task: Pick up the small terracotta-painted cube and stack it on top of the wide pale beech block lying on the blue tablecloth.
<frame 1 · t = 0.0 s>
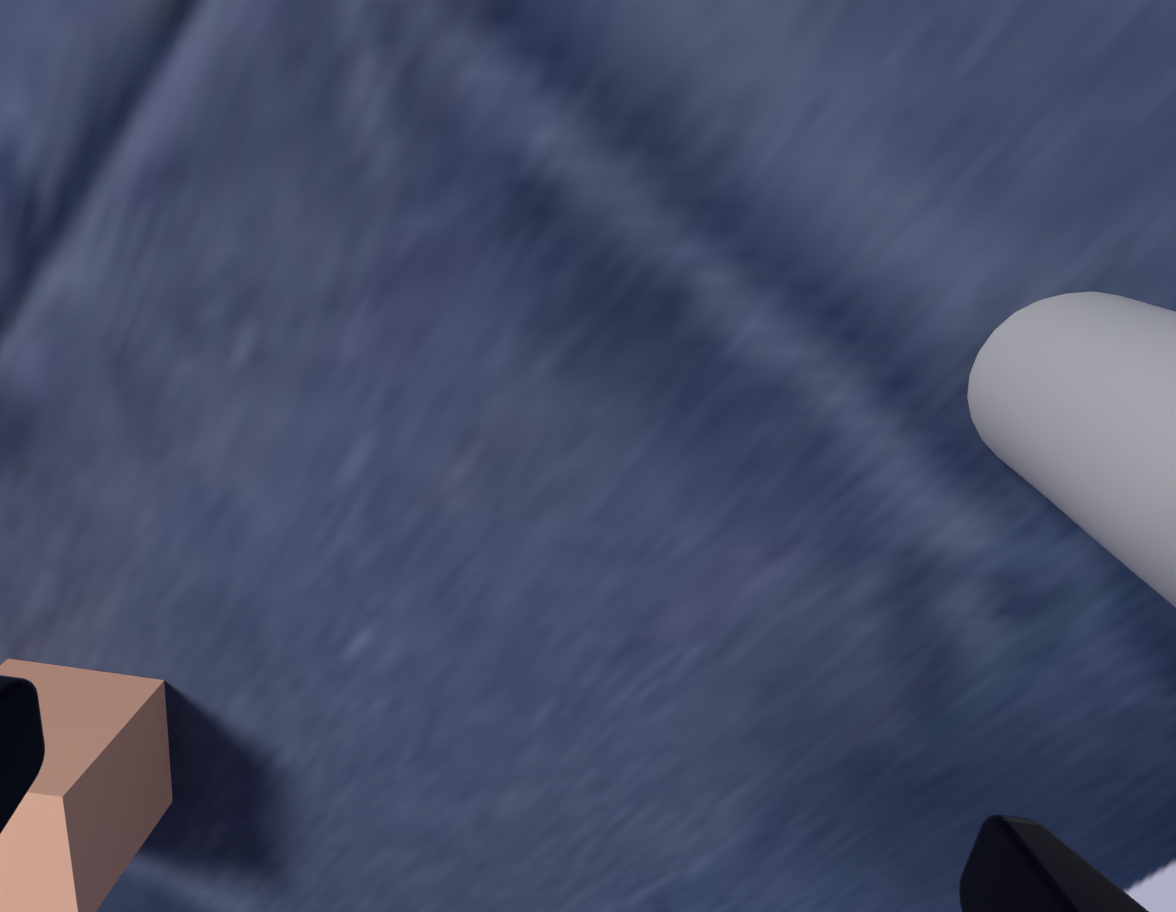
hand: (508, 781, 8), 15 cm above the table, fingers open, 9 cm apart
beverage can: (1049, 376, 21), on the table
terracotta cube: (94, 730, 26), on the table
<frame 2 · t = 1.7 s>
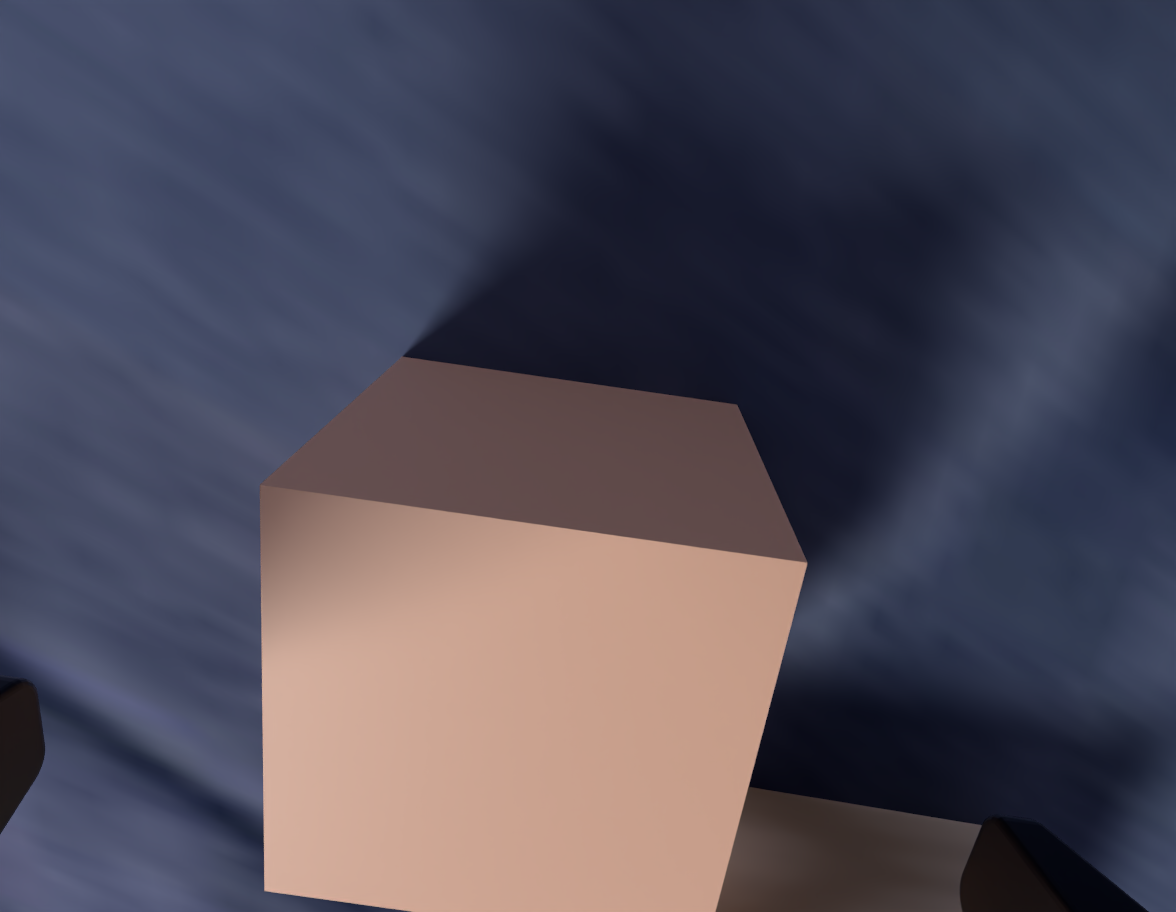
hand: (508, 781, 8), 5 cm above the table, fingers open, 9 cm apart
terracotta cube: (550, 529, 13), on the table
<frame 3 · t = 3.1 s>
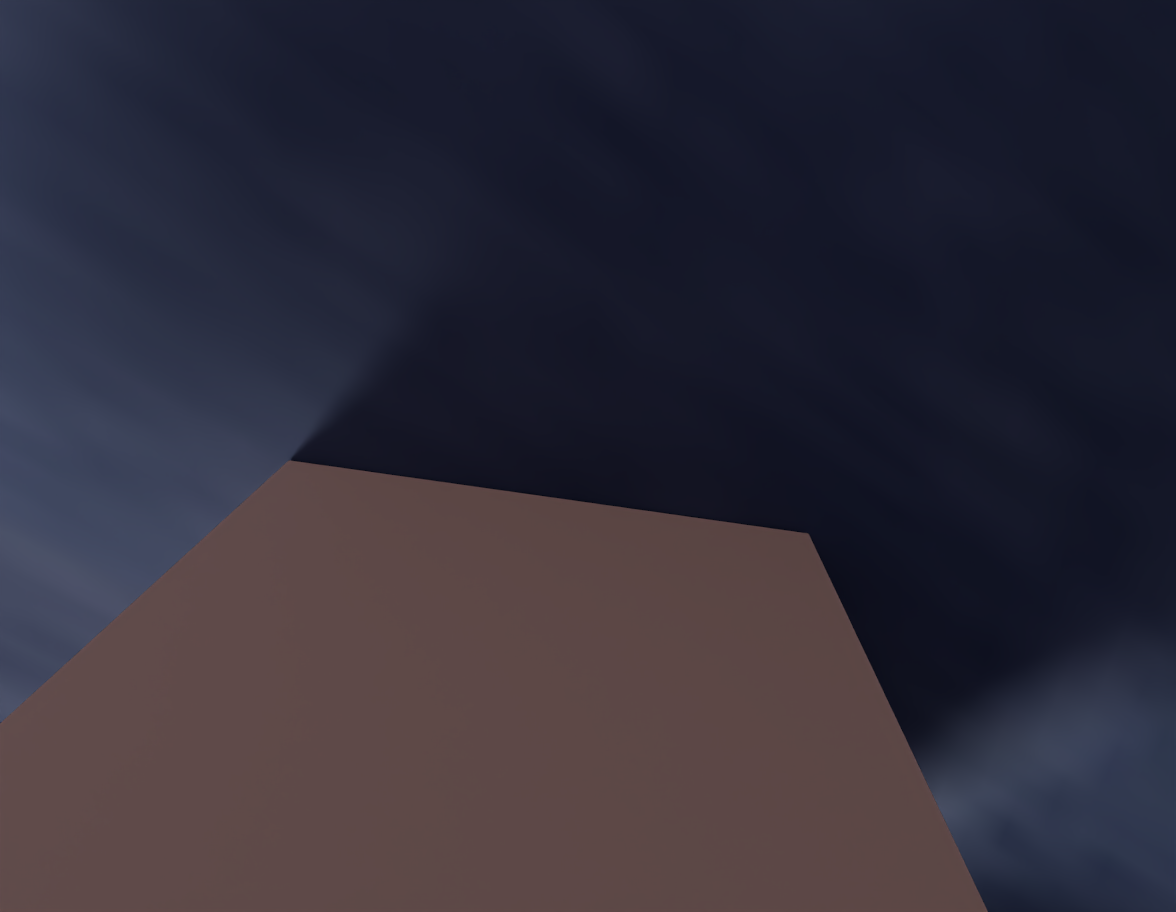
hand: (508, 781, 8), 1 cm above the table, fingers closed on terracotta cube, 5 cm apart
terracotta cube: (522, 709, 9), on the table, touching gripper
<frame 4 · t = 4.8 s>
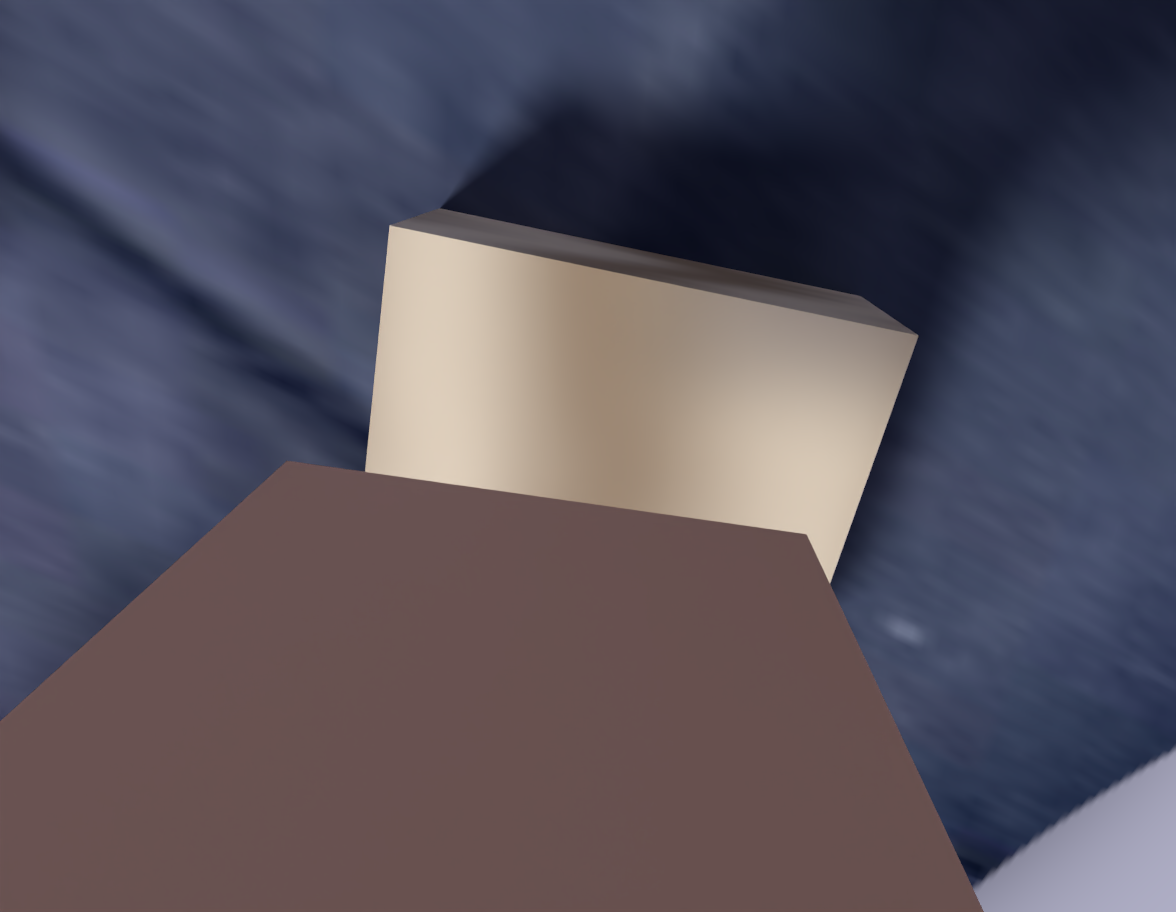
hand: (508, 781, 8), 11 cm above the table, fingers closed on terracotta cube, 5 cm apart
terracotta cube: (520, 710, 9), point 10 cm above the table, touching gripper
beech block: (608, 444, 19), on the table
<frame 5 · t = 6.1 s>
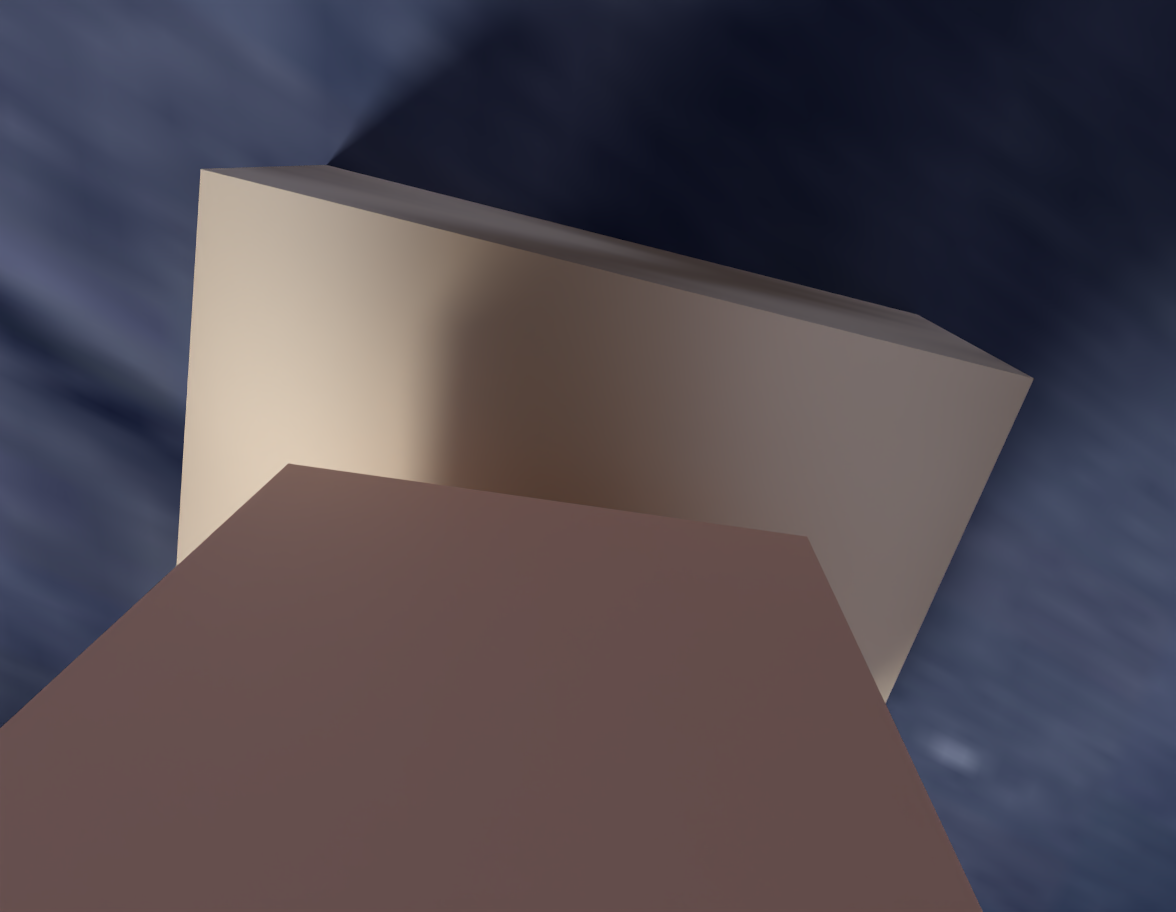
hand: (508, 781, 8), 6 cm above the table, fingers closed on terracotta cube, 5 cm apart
terracotta cube: (521, 712, 9), point 5 cm above the table, touching gripper
beech block: (560, 501, 14), on the table
when the fingers open (6 cm above the table, at t = 6.8 s): terracotta cube drops 2 cm, resting on beech block.
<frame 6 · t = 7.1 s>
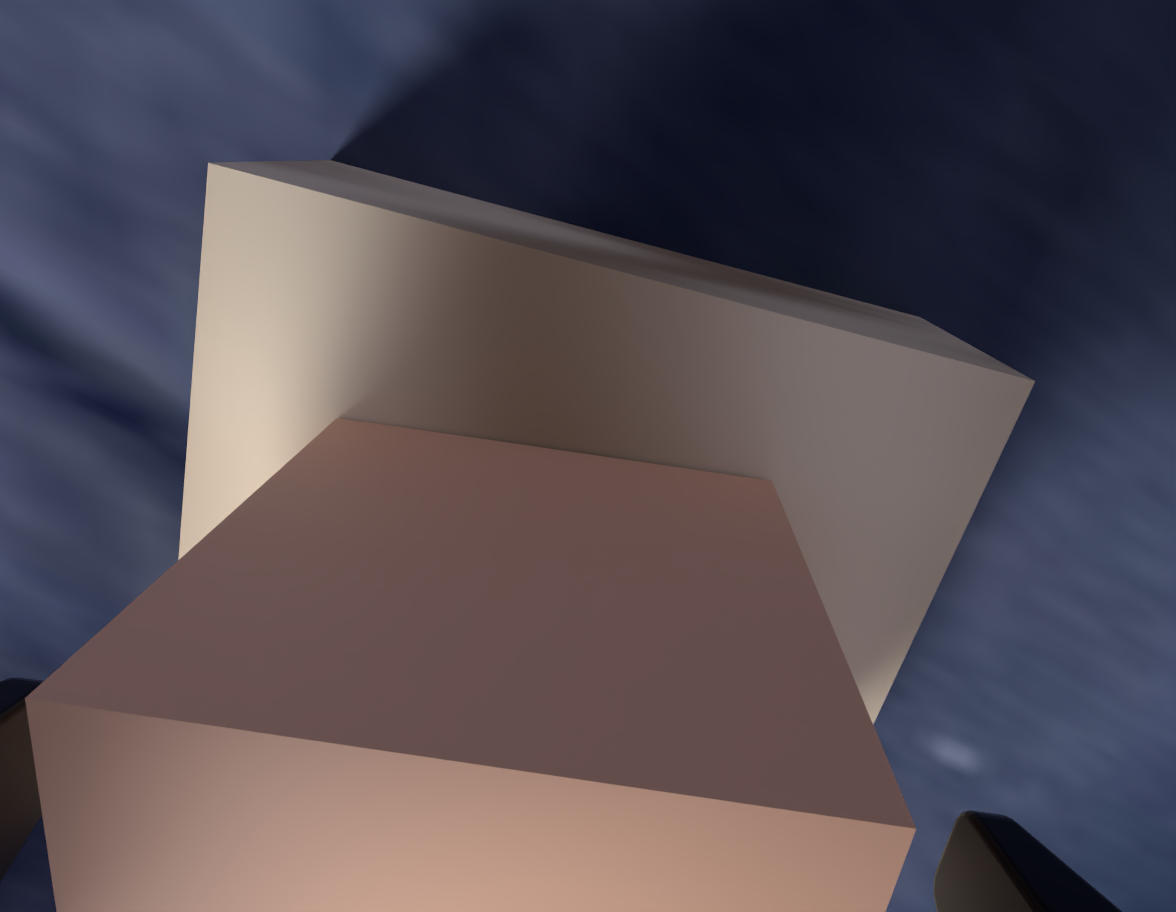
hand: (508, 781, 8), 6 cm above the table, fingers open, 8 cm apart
terracotta cube: (530, 634, 10), point 4 cm above the table, touching beech block
beech block: (561, 499, 14), on the table, touching terracotta cube
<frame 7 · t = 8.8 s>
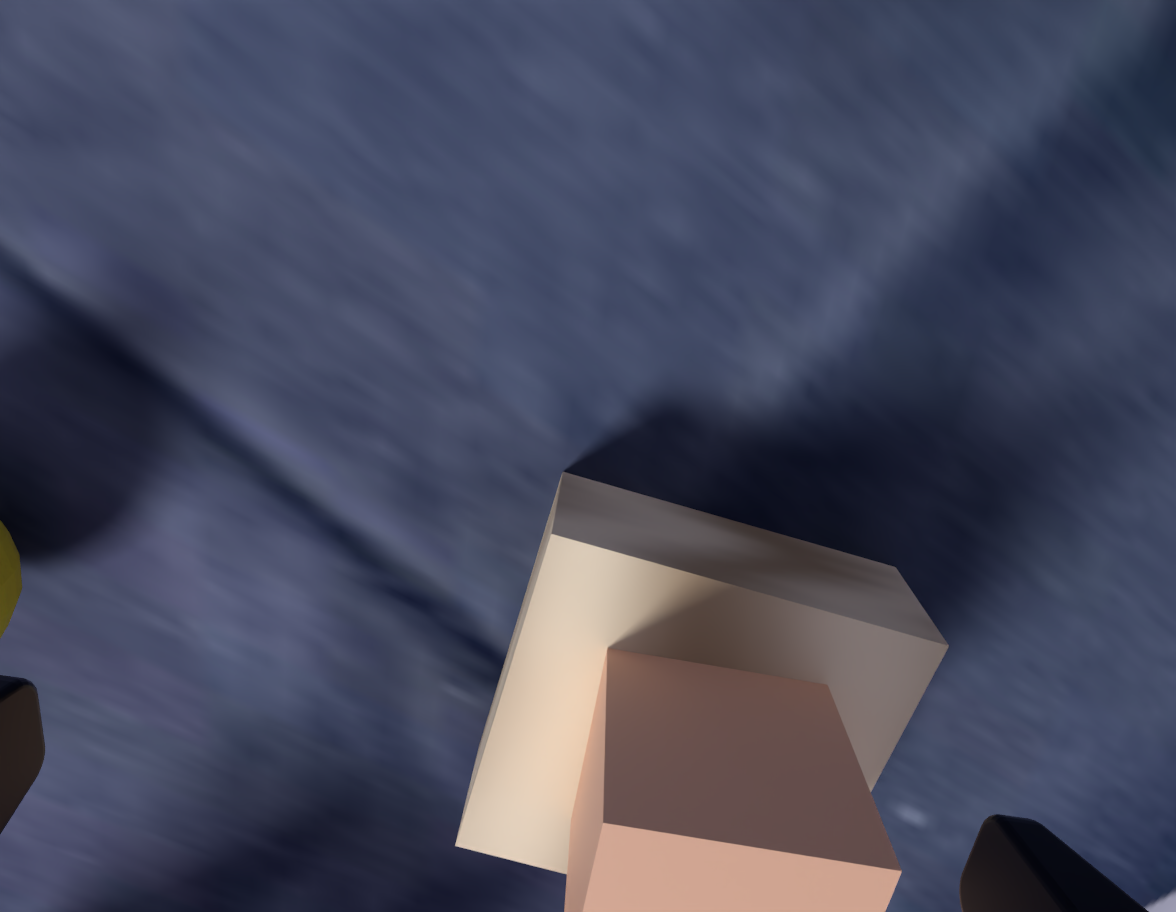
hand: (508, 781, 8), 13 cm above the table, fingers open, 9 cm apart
terracotta cube: (693, 755, 19), point 4 cm above the table
beech block: (674, 653, 22), on the table
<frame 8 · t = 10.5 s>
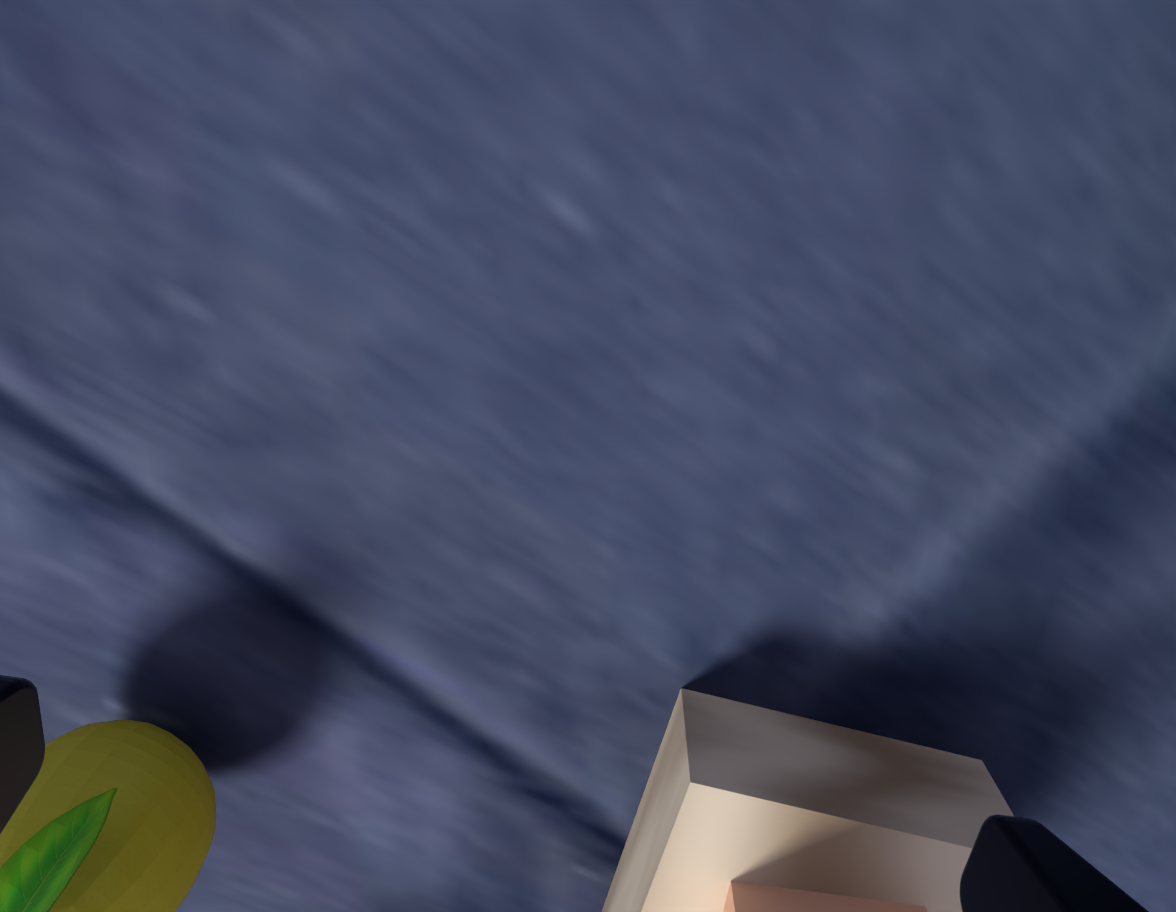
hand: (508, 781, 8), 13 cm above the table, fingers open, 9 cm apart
lemon: (173, 744, 25), on the table
beech block: (778, 830, 25), on the table, touching terracotta cube
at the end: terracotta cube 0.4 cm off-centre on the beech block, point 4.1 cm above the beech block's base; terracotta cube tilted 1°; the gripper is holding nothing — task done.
